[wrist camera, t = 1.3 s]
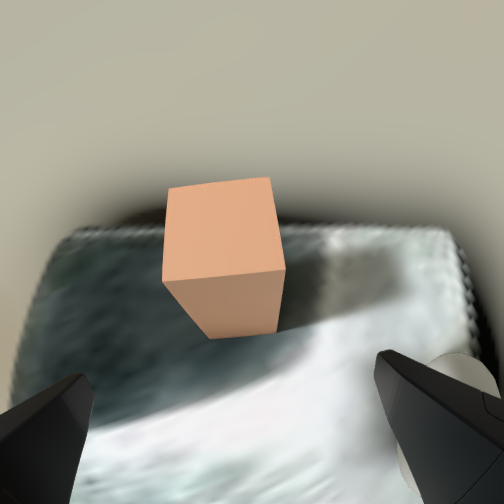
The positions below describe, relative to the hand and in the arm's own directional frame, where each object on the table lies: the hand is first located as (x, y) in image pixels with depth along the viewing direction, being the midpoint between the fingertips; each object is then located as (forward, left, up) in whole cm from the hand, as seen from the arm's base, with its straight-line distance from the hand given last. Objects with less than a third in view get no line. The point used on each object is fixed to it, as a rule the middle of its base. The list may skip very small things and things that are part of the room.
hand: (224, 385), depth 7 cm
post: (+6, -3, -13) cm, 15 cm away
